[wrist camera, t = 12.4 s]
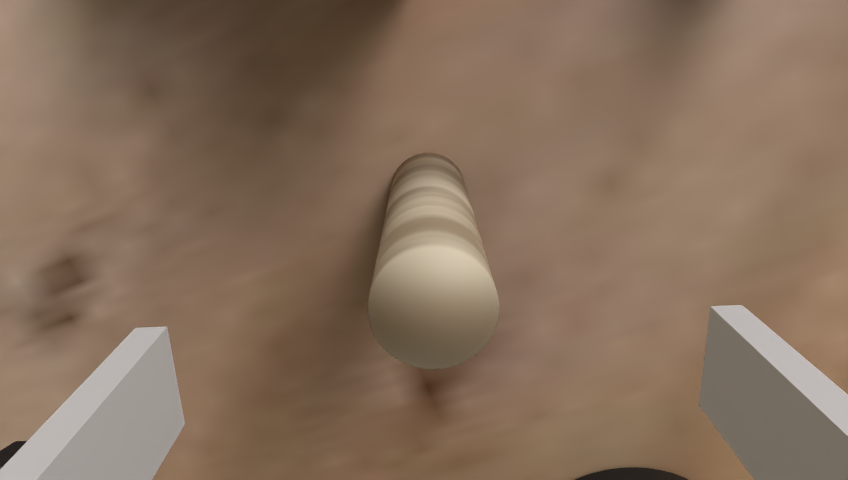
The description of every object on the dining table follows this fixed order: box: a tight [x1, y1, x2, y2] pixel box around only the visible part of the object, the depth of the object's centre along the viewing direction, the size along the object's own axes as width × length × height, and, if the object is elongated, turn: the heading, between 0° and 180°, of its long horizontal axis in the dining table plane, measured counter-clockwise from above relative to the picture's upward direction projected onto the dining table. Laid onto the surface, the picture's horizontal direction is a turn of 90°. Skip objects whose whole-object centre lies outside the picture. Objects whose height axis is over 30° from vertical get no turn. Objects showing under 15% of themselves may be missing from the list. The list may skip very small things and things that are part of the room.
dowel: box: [368, 153, 499, 369], centre depth 27 cm, size 4×4×16 cm
